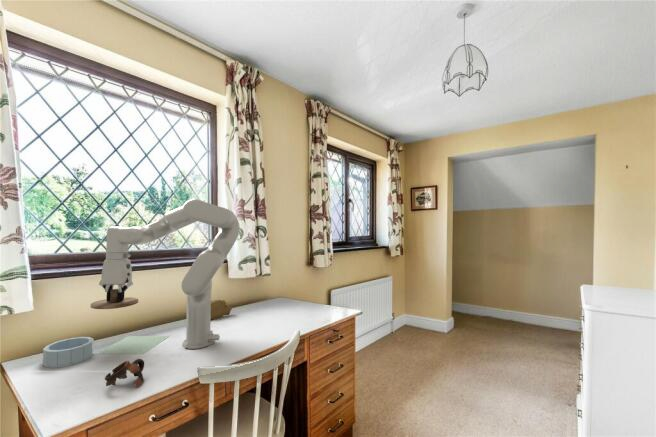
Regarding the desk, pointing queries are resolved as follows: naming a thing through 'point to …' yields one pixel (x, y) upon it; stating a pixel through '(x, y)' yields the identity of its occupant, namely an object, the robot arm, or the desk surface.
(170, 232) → the robot arm
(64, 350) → the slate bowl
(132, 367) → the brown animal figurine
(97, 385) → the desk surface
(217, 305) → the wooden carving
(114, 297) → the walnut lid
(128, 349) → the sage mat
